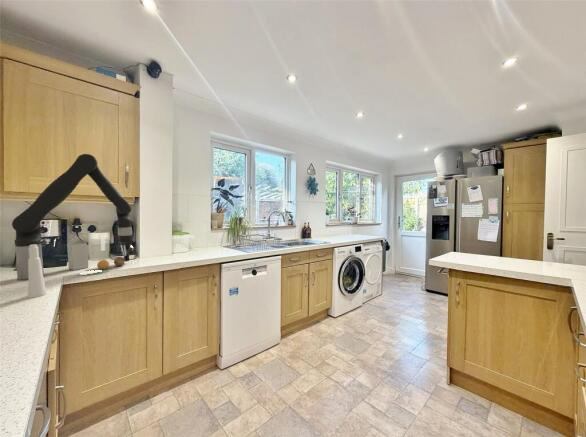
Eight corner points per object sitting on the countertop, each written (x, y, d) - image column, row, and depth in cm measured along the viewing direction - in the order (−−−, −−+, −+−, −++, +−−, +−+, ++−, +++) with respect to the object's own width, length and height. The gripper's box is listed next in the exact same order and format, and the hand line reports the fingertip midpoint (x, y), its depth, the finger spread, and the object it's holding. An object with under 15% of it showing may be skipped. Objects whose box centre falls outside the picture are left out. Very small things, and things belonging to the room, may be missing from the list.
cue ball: (127, 257, 158) (123, 266, 157) (117, 255, 156) (113, 264, 155) (124, 258, 153) (121, 267, 152) (114, 256, 151) (111, 265, 150)
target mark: (78, 277, 132) (78, 276, 132) (78, 271, 143) (78, 270, 143) (111, 272, 141) (111, 271, 141) (109, 266, 152) (109, 266, 152)
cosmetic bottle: (51, 292, 111) (47, 243, 109) (37, 297, 105) (33, 246, 103) (37, 292, 111) (32, 243, 109) (22, 297, 105) (18, 246, 103)
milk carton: (83, 266, 154) (81, 235, 152) (88, 267, 150) (86, 236, 148) (68, 268, 148) (66, 237, 146) (73, 270, 144) (71, 238, 142)
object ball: (107, 271, 147) (97, 271, 142) (102, 266, 150) (93, 265, 144) (112, 264, 148) (103, 263, 143) (108, 258, 150) (99, 257, 145)
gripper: (111, 234, 157) (113, 261, 158) (127, 235, 153) (128, 263, 154) (123, 233, 164) (124, 258, 165) (138, 234, 160) (139, 260, 161)
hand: (126, 261), depth 160 cm, fingers closed
